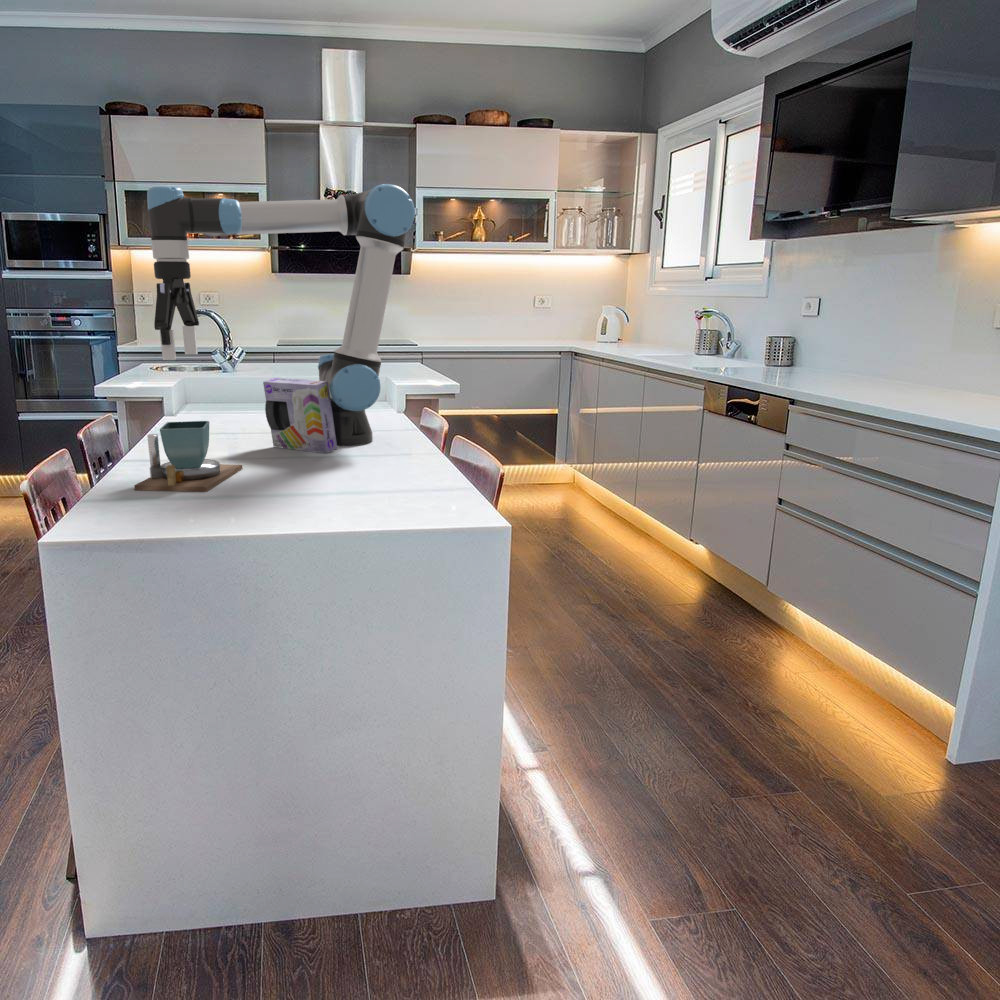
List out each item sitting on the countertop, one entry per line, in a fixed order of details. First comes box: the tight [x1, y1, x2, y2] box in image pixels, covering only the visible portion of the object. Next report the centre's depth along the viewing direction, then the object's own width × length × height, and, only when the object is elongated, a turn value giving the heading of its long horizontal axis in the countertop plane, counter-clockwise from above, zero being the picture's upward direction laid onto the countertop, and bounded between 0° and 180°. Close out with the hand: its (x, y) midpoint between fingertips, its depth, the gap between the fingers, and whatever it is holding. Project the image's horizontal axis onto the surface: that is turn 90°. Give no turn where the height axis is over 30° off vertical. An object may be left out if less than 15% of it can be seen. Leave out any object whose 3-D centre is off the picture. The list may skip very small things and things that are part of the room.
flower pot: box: [159, 420, 210, 469], centre depth 179 cm, size 9×9×9 cm
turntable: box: [147, 433, 221, 482], centre depth 180 cm, size 14×13×9 cm
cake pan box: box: [262, 377, 338, 454], centre depth 212 cm, size 19×5×18 cm, turn 60°
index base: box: [133, 463, 243, 493], centre depth 182 cm, size 15×21×5 cm
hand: (180, 357), depth 194 cm, fingers open, 13 cm apart
